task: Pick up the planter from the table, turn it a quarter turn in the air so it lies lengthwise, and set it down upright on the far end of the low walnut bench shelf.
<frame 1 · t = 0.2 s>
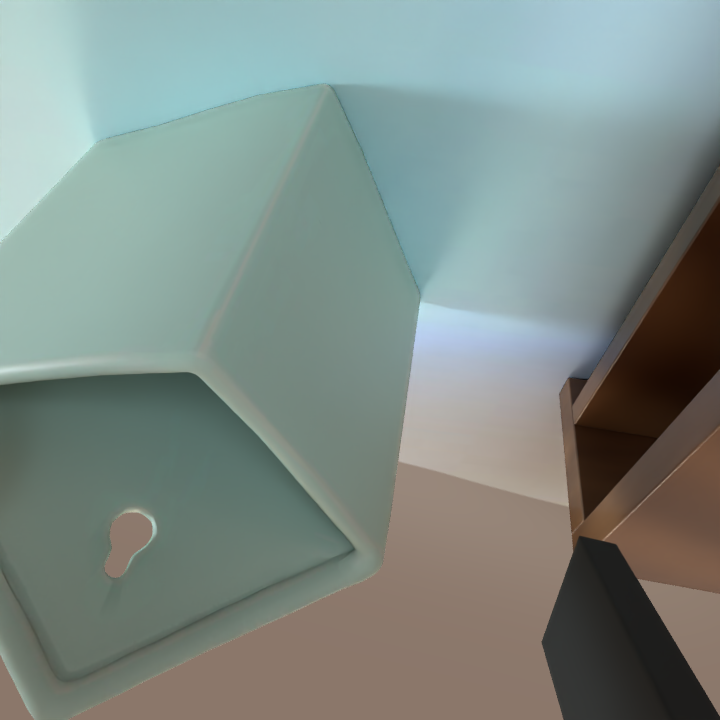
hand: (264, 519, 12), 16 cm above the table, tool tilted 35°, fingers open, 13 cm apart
planter: (294, 166, 23), on the table
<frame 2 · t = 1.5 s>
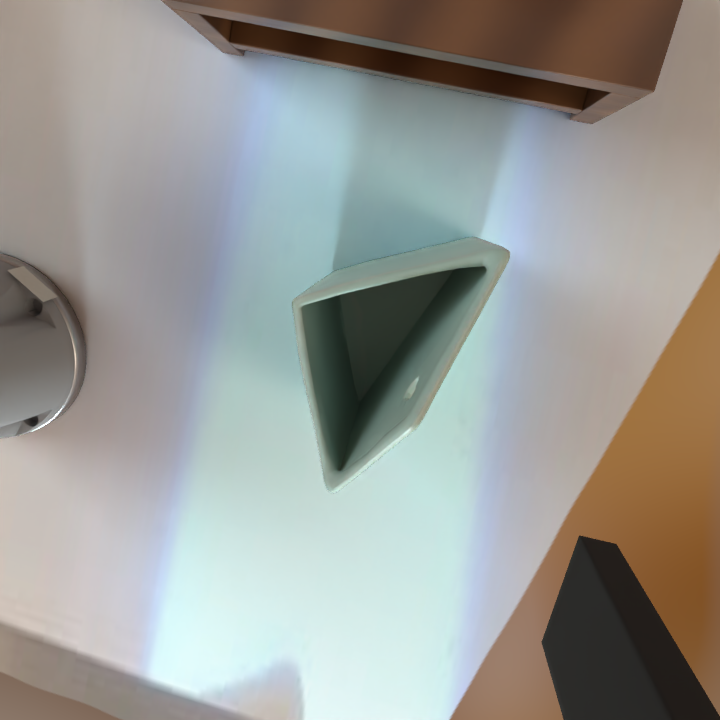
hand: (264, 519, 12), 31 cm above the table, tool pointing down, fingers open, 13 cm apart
shelf: (420, 6, 36), on the table
planter: (374, 302, 41), on the table
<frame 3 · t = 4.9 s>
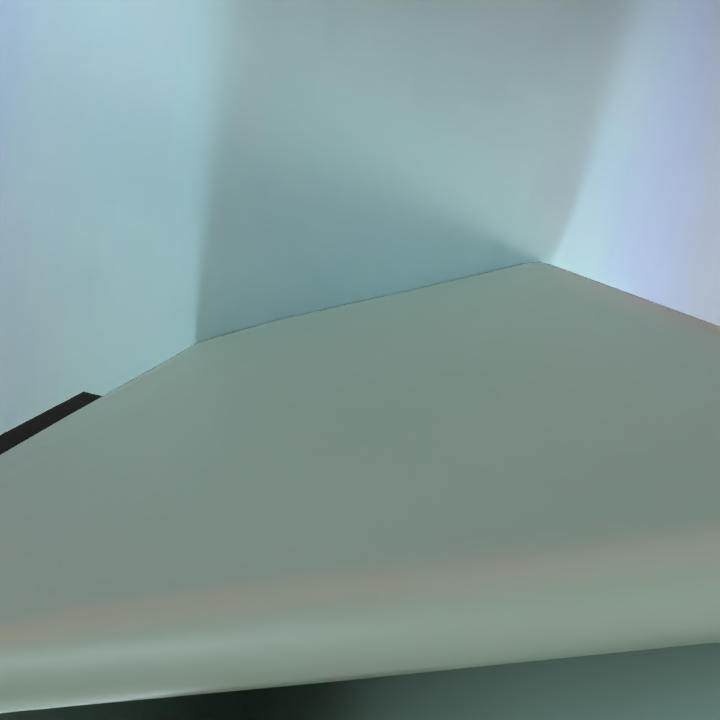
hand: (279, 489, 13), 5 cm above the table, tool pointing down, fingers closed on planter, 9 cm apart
planter: (299, 412, 18), on the table, touching gripper
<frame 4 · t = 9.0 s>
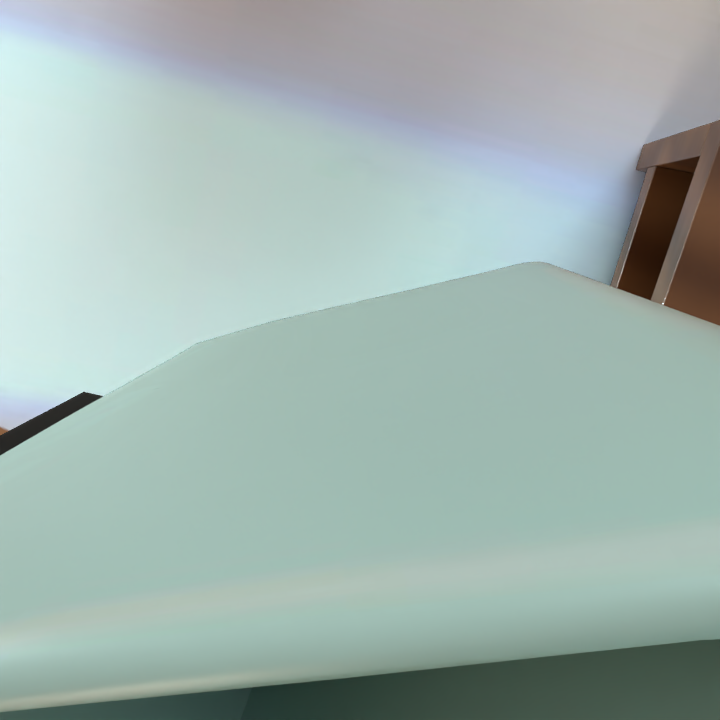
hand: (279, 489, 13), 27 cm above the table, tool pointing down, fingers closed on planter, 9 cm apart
shelf: (653, 352, 38), on the table
planter: (298, 413, 18), point 22 cm above the table, touching gripper
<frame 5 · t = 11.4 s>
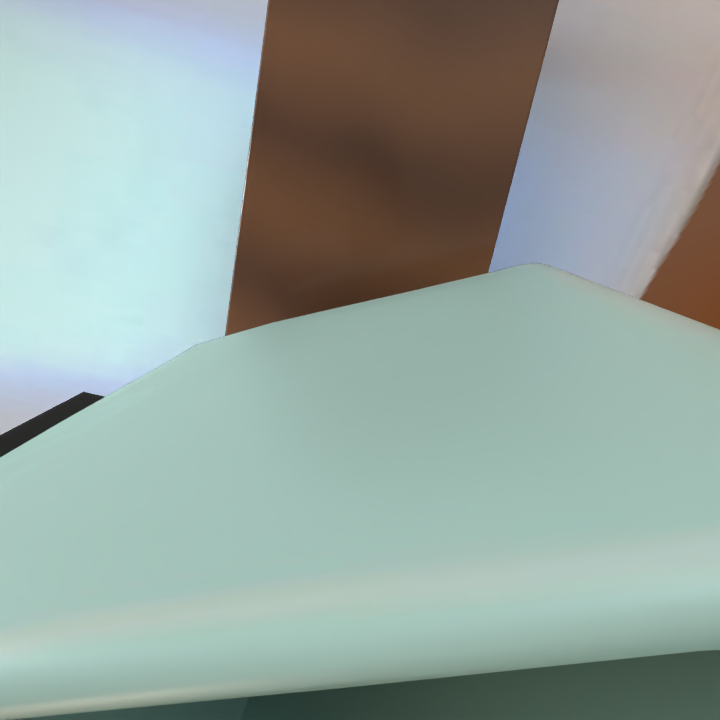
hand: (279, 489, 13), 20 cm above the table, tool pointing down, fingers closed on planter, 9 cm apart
shelf: (372, 274, 31), on the table
planter: (298, 414, 18), point 15 cm above the table, touching gripper
when the fingers open (15 cm above the table, at t = 13.3 s): planter stays where it is, resting on shelf.
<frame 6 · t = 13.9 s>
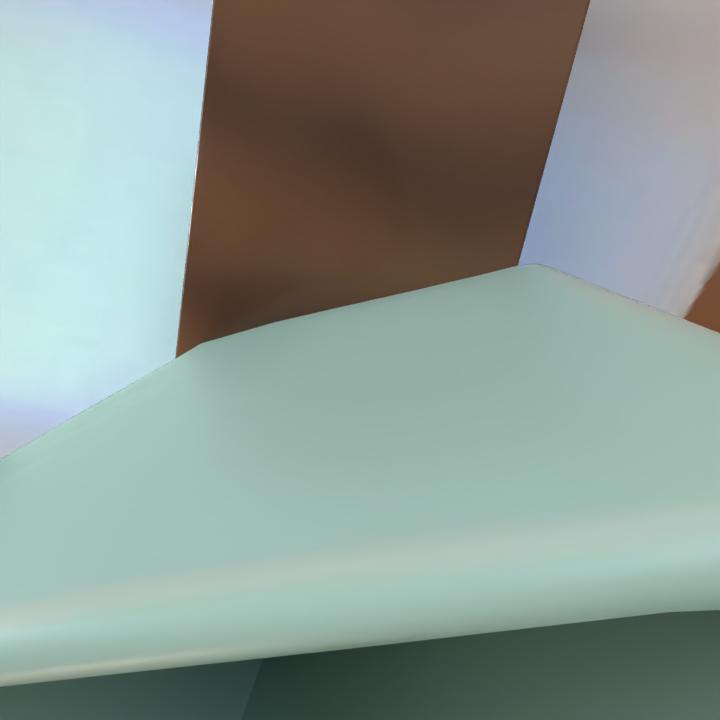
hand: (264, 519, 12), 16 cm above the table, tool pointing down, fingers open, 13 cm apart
shelf: (364, 289, 27), on the table
planter: (300, 412, 18), point 10 cm above the table, touching shelf
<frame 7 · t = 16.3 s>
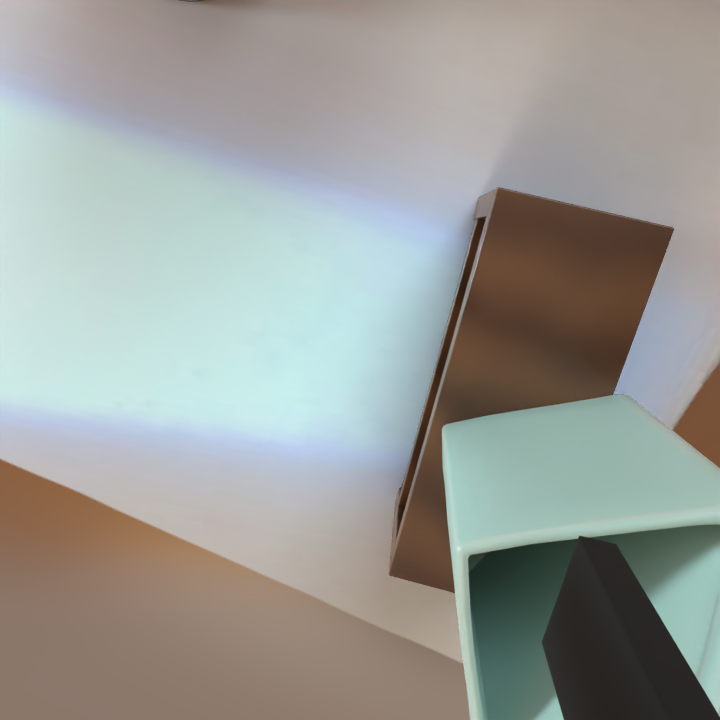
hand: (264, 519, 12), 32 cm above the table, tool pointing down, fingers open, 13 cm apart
shelf: (494, 377, 43), on the table
planter: (493, 460, 34), point 10 cm above the table, touching shelf
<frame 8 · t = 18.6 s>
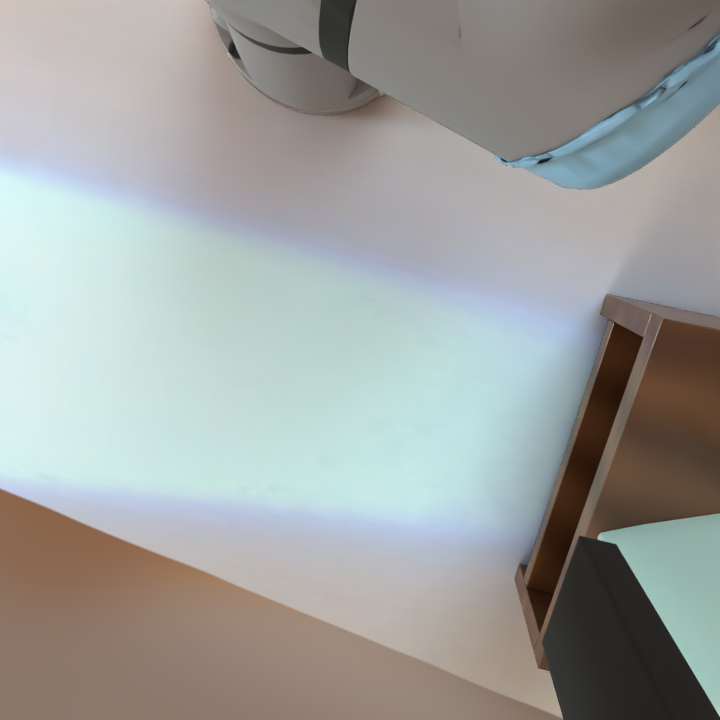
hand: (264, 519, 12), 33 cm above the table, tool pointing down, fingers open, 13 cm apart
shelf: (617, 460, 44), on the table
planter: (645, 563, 36), point 10 cm above the table, touching shelf
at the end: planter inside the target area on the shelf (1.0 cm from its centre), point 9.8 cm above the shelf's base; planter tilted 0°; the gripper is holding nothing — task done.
